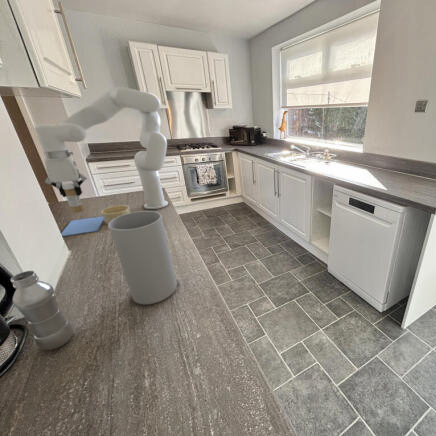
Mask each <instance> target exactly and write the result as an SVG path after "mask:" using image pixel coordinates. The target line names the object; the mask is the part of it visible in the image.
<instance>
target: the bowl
mask: <svg viewBox="0 0 436 436" xmlns="http://www.w3.org/2000/svg"><path fill="white" fill-rule="evenodd" d="M100 213H101V217H103V222H104V224H107V225H108V223H109V222H110V221H111V220H113V219H115V218H117V217H119V216H121V215H125V214H128V213H132V212H131V208H130V206H129V205H125V204H124V205H123V204H122V205H121V204H119V205H113V206H109V207H106V208H104V209H102V210H101V212H100Z"/></svg>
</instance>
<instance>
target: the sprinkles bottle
mask: <svg viewBox="0 0 436 436" xmlns="http://www.w3.org/2000/svg"><path fill="white" fill-rule="evenodd" d="M62 188H63V189H64V191H65V194H66V197H65V198H66V199H67V202H68V205H69V207H70V209H71V213H73V214H79V213H83V212H84V211H85V208H84V206H83V203H82V199H81V197H80V196H78V195H77V192H76V190H75V184H74V183H73V182H66V183H62Z"/></svg>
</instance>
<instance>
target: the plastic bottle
mask: <svg viewBox="0 0 436 436" xmlns="http://www.w3.org/2000/svg"><path fill="white" fill-rule="evenodd" d="M10 282H11V284H12V286H13V288H14V289H15V291H14V293H13V296H12V305H13V306H14V307H15V308H16V309H17V310H18V311H19V312H20V314H22V316H23V317H24V319H25V320H26V321H27V322H28V324H29V326H30V328H31V330H32V333H33V336H34V341H35V344H36V345H37V346H38V347H39V348H40V349H41V350H43V351H52V350H56V349H59V348H61V347H62V346H64V345H65V344H66V343H68V342H69V341H70V340H71V338H72V336H73V334H74V329H73V328H74V327H73V324H72V323H71V322H70V321H69V320H68V319H67V318H66V316H65V315H64V314H63V311H61V309H60V307H59V303H58V301H57V297H56V292H55V289H54V286H52V285H51V284H50V283H48V282H46V281H42V280H40V278H39V276H38V275H37V273H36V271H35V270H25V271H22V272H19V273H17V274H15V275H14V276H12V277H11V278H10Z"/></svg>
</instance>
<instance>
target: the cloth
mask: <svg viewBox="0 0 436 436" xmlns="http://www.w3.org/2000/svg"><path fill="white" fill-rule="evenodd" d="M103 222H104V220H103V217H102V216H97V217H89V218H88V217H87V218H82V219H74V220H70V222H69V223H68V224H67V226H66V227H65V228H64V229H63V230H62V231H61V233H60V234H62V236H63V237H68V236H75V235H82V234H87V233H94V232H98V231H99V230H100V228H101V226H102V224H103Z"/></svg>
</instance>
